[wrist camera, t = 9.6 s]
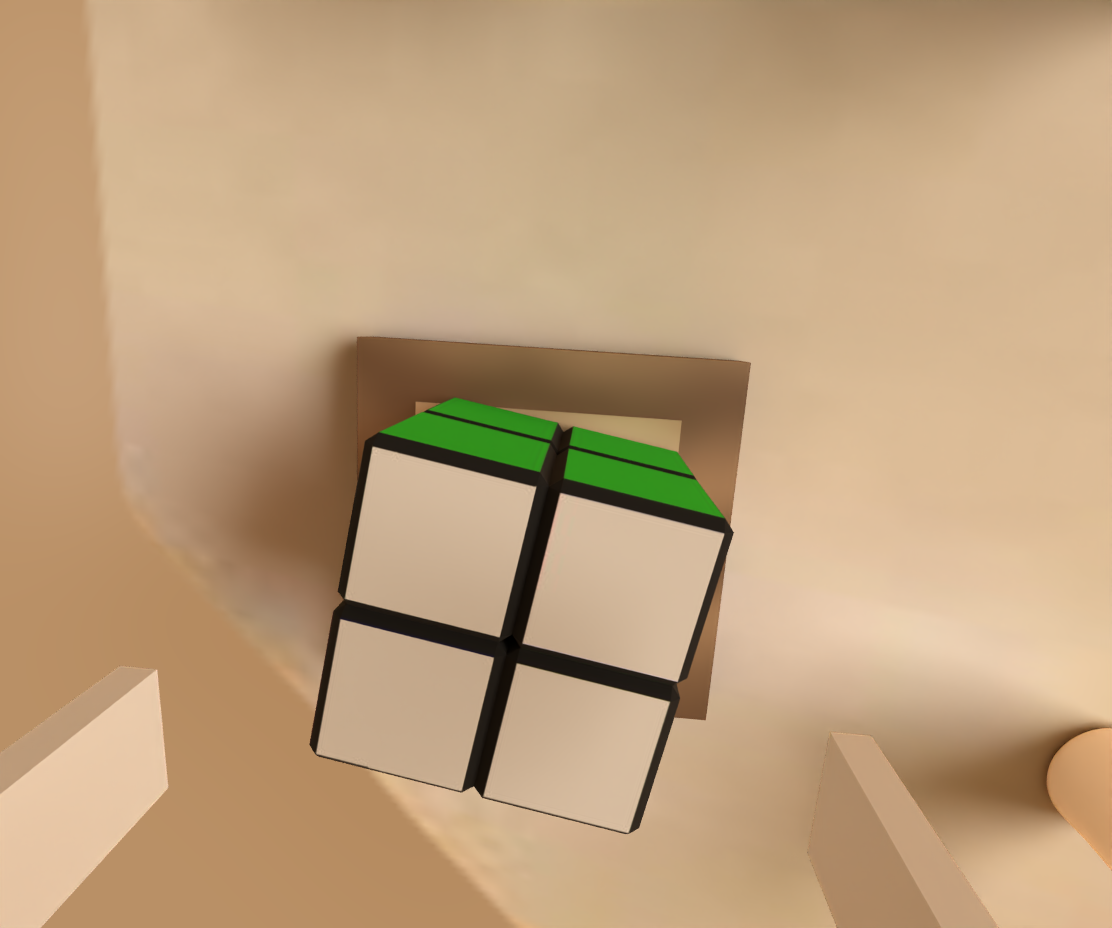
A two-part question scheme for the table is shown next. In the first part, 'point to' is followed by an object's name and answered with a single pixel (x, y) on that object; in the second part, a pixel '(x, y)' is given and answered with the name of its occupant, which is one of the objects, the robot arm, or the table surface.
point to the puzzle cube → (518, 611)
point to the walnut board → (578, 415)
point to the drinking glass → (1085, 788)
